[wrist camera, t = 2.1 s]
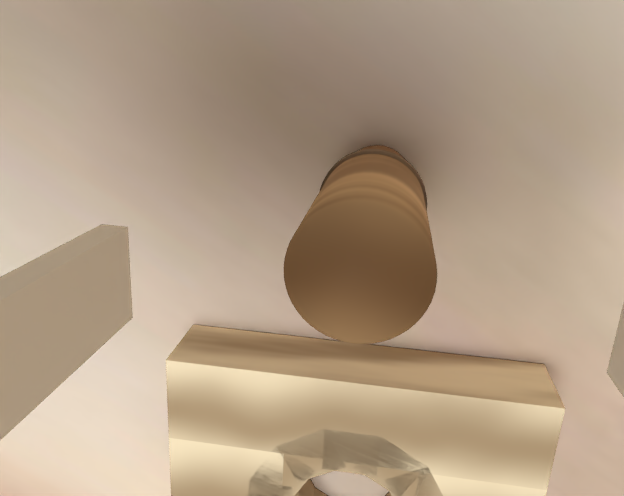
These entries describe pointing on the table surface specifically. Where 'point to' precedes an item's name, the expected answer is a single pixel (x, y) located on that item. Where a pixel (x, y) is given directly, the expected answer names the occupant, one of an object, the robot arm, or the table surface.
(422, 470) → the board
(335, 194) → the peg
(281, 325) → the table surface
